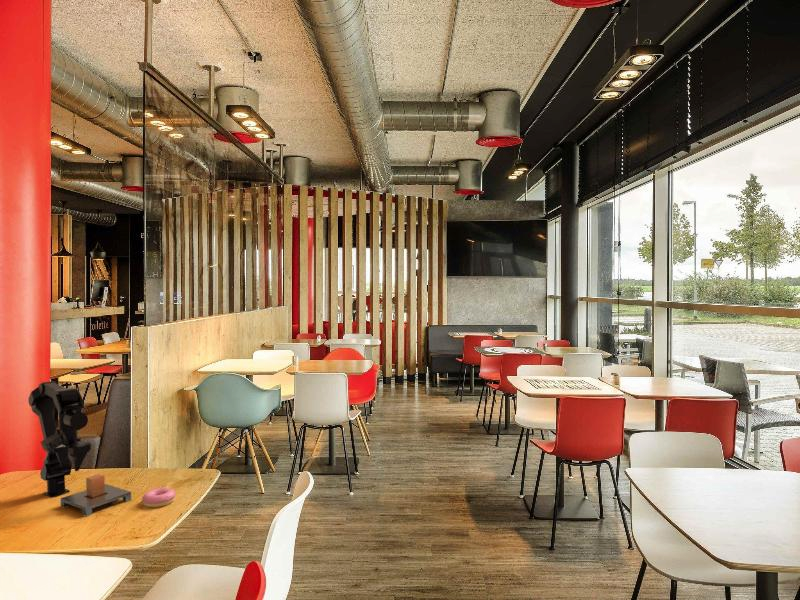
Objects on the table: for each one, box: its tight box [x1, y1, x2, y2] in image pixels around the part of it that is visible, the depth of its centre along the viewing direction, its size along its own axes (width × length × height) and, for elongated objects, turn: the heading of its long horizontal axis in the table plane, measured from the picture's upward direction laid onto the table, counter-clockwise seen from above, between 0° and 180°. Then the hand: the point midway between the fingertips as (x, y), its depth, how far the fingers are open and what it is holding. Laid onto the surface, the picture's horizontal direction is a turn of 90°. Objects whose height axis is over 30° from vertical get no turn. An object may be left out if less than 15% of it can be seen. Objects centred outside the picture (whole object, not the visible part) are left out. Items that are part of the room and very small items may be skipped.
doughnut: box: [141, 487, 176, 508], centre depth 198 cm, size 11×11×4 cm
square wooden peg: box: [85, 473, 106, 499], centre depth 198 cm, size 4×4×10 cm
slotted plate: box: [60, 483, 132, 517], centre depth 199 cm, size 16×16×3 cm
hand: (69, 468), depth 200 cm, fingers open, 9 cm apart
